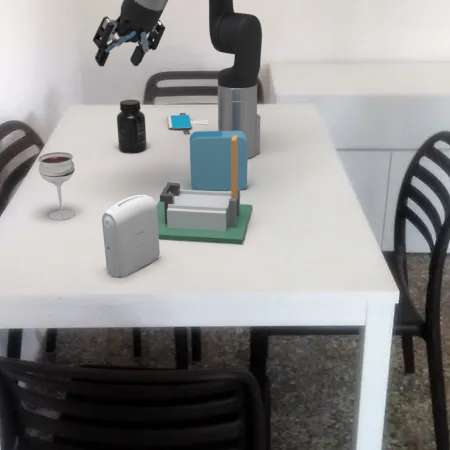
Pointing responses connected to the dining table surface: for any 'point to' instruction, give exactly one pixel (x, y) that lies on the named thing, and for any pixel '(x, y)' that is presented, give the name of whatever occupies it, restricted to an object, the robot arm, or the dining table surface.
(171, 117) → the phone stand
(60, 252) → the dining table surface
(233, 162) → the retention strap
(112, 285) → the dining table surface
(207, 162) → the blue rounded block
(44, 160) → the wineglass
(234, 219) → the processor board
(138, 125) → the supplement bottle
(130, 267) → the photo printer
